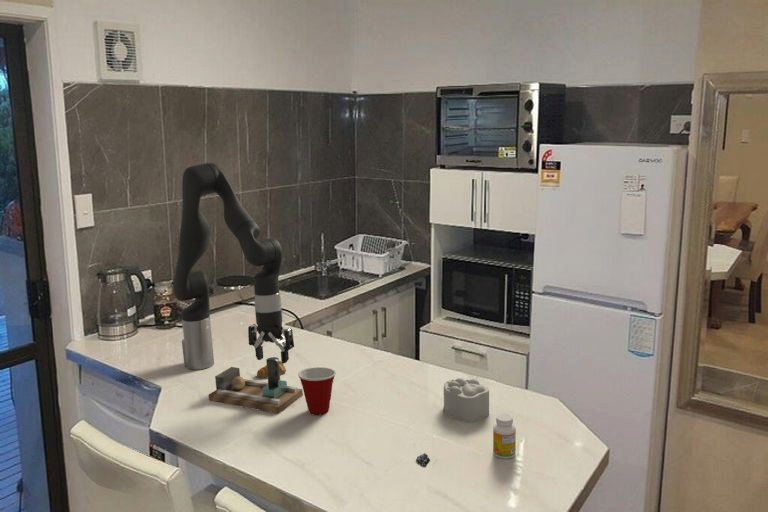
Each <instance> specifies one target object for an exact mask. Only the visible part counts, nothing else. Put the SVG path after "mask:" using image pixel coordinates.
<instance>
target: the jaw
mask: <svg viewBox="0 0 768 512" xmlns="http://www.w3.org/2000/svg"><path fill="white" fill-rule="evenodd" d="M279 361H280V359H279V357H276V356H275V357H274V356H273V357H268V358H267V359H266V365H267V375H268V378H267V383H268V385H267V386H265V387H264V388H262V394H263V397H268V398H274V399H276V398H278V397H279V396H280V395H282V394H283V393H285V392H286V391H287V386H288V382H287V380H281V375H280V370H279Z"/></svg>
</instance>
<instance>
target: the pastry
mask: <svg viewBox="0 0 768 512" xmlns="http://www.w3.org/2000/svg"><path fill="white" fill-rule="evenodd" d="M284 364H285V363H282V362H281V360H279V370H280V376H282V375H284V374H285V373H286V372H287V368H286V366H285V365H284ZM256 376H257V377H258V378H260V379H268V378H267V377H268V375H267V364H266V365H264V366H263V367H260V369H258V370H257V371H256Z"/></svg>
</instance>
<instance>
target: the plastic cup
mask: <svg viewBox="0 0 768 512" xmlns="http://www.w3.org/2000/svg"><path fill="white" fill-rule="evenodd" d="M336 374H337V372H336V370H335V369H333V368H329V367H324V366H323V367H319V366H317V367H316V366H315V367H309V368H304V369H302V370H300V371H298V373H297V375H298V378H299V379H300V383H301V387H302V390H303V396H304V398H305V399H304V400H305V403H306V406H307V411H308V412H309V414H310V415H312V416H323V415H326V414H327V413H329V411H330V404H331V399H332V391H333V383H334V380H335V376H336Z"/></svg>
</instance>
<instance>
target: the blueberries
mask: <svg viewBox="0 0 768 512" xmlns="http://www.w3.org/2000/svg"><path fill="white" fill-rule="evenodd" d="M437 461H438V460H437V459H436V460H435V461H434V464H436V462H437ZM415 462H416V463H417V464H418V465H420V467H427V465H428V464H429V463H430V462H431V459H430V457H429V456H428V454H427V453H425V452H424V453H423V454H420V455H418V456H417V457H416V459H415Z"/></svg>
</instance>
